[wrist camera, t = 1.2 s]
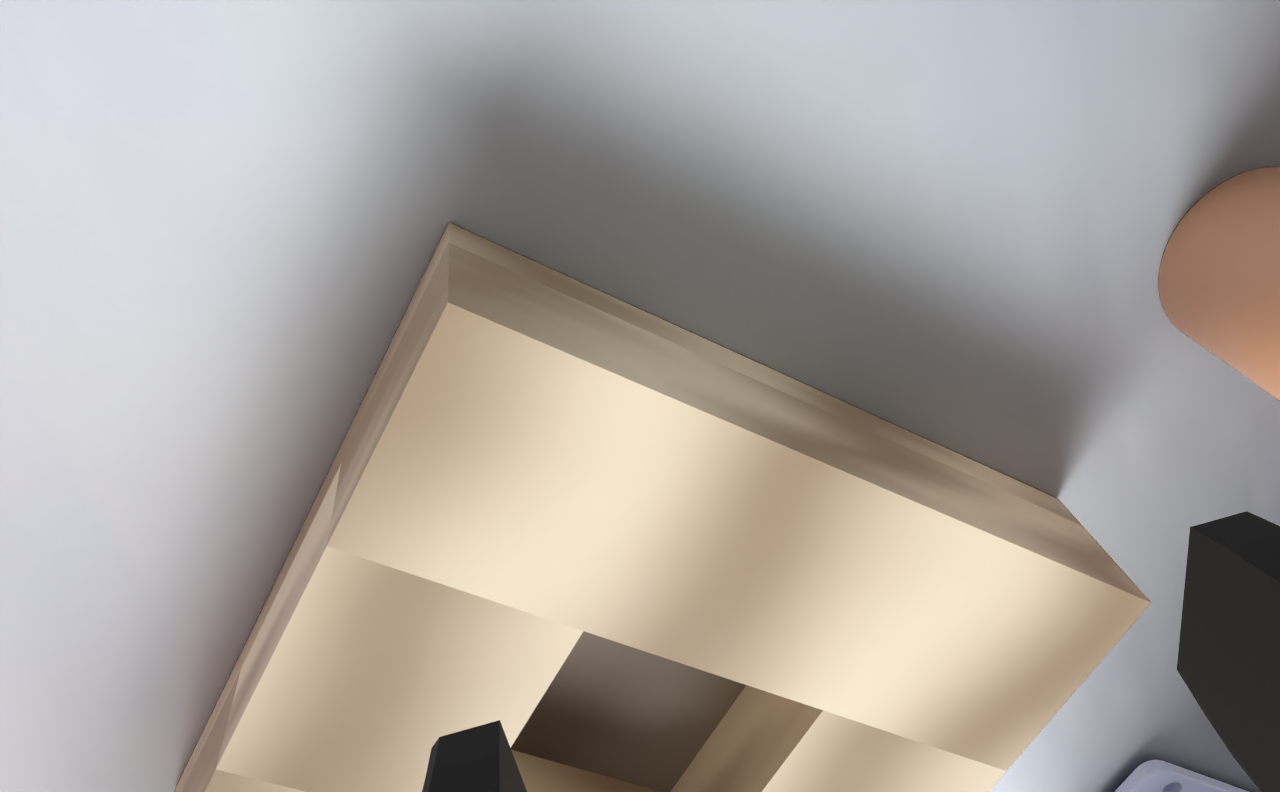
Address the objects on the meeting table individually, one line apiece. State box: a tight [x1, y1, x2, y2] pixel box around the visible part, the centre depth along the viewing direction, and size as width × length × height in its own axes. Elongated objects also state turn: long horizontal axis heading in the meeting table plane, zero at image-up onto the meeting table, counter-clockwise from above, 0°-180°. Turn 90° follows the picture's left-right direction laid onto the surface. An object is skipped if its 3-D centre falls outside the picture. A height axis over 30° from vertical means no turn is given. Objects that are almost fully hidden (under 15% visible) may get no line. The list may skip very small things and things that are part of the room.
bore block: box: [174, 223, 1151, 792], centre depth 22 cm, size 14×14×4 cm
